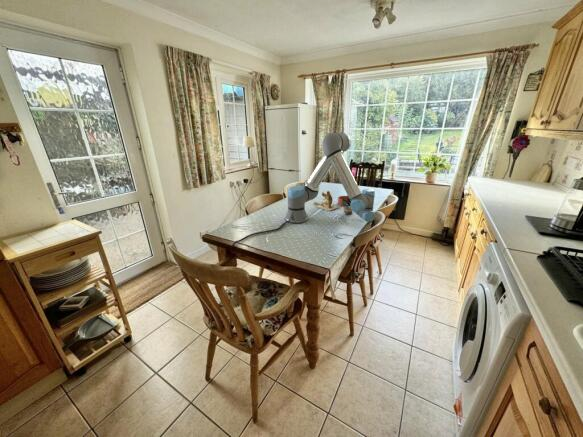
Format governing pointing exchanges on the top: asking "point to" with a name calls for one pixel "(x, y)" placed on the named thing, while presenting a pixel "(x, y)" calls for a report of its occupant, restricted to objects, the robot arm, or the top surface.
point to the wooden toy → (326, 202)
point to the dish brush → (348, 211)
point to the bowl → (341, 199)
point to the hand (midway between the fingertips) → (345, 199)
